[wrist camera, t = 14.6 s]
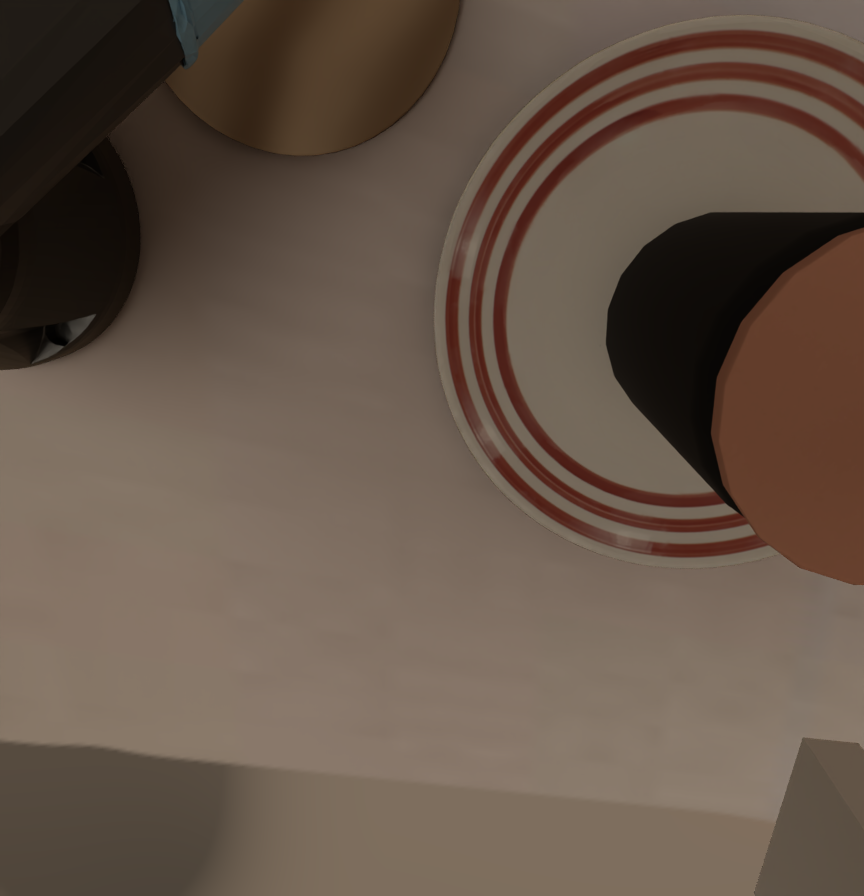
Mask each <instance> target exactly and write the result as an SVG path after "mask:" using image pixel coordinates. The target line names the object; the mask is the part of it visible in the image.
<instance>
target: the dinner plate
mask: <svg viewBox="0 0 864 896" xmlns="http://www.w3.org/2000/svg"><path fill="white" fill-rule="evenodd" d="M710 212H864V43H861V42H859V41H857V40H855V39H853V38H851V37H848V36H846V35H844V34H841V33H839V32H836V31H833V30H830V29H827V28H824V27H820V26H817V25H814V24H811V23H807V22H802V21H797V20H792V19H786V18H779V17H772V16H758V15H732V16H714V17H707V18H700V19H693V20H687V21H683V22H678V23H673V24H669V25H666V26H662V27H659V28H655V29H652V30H649V31H646V32H644V33H641V34H638V35H636V36H633V37H631V38H628V39H625V40H623V41H621V42H618V43H616V44H614V45H612V46H609V47H607V48H605V49H603V50H601V51H599V52H597V53H596V54H594V55H592V56H590V57H588V58H587V59H585V60H583V61H582V62H580V63H579V64H577V65H576V66H574V67H573V68H571V69H570V70H568V71H567V72H565V73H564V74H563V75H561V76H560V77H559V78H557V79H556V80H554V81H553V82H552V83H551V84H549V85H548V86H547V87H546V88H544V89H543V90H542V91H541V92H540V93H539V94H538V95H537V96H535V97H534V98H533V99H532V100H531V101H530V102H529V103H528V104H527V105H526V106H525V107H524V108H523V109H522V110H521V111H520V112H519V113H518V114H517V115H516V116H515V117H514V118H513V119H512V120H511V121H510V122H509V124H508V125H507V126H506V127H505V128H504V130H503V131H502V132H501V133H500V134H499V136H498V137H497V138H496V139H495V141H494V142H493V143H492V145H491V146H490V148H489V149H488V151H487V152H486V154H485V155H484V157H483V158H482V160H481V161H480V163H479V165H478V166H477V168H476V170H475V172H474V173H473V175H472V177H471V178H470V180H469V182H468V184H467V186H466V188H465V190H464V192H463V194H462V196H461V198H460V200H459V202H458V205H457V207H456V210H455V212H454V215H453V217H452V220H451V223H450V226H449V229H448V232H447V235H446V238H445V241H444V246H443V250H442V254H441V257H440V262H439V268H438V274H437V279H436V288H435V301H434V341H435V350H436V357H437V364H438V369H439V374H440V378H441V381H442V385H443V389H444V392H445V396H446V399H447V402H448V405H449V408H450V410H451V413H452V416H453V418H454V421H455V423H456V425H457V427H458V430H459V432H460V433H461V435H462V437H463V439H464V441H465V443H466V445H467V446H468V448H469V450H470V452H471V453H472V455H473V456H474V458H475V459H476V461H477V462H478V464H479V465H480V467H481V468H482V469H483V471H484V472H485V473H486V474H487V476H488V477H489V478H490V479H491V481H492V482H493V483H494V484H495V485H496V486H497V487H498V489H499V490H500V491H501V492H502V493H503V494H504V495H505V496H506V497H507V498H508V499H509V500H510V501H511V502H512V503H514V504H515V505H516V506H517V507H518V508H520V510H522V511H523V512H524V513H525V514H527V515H528V516H529V517H530V518H532V519H533V520H535V521H536V522H538V523H539V524H541V525H542V526H544V527H545V528H547V529H548V530H550V531H552V532H553V533H555V534H557V535H558V536H560V537H562V538H564V539H566V540H568V541H570V542H572V543H574V544H576V545H578V546H581V547H583V548H585V549H588V550H590V551H593V552H595V553H598V554H601V555H605V556H608V557H611V558H614V559H618V560H621V561H626V562H630V563H634V564H640V565H646V566H654V567H663V568H679V569H698V568H715V567H723V566H731V565H738V564H743V563H748V562H753V561H757V560H761V559H764V558H768V557H771V556H775V555H778V554H780V553H779V552H778V551H776V550H775V549H773V548H772V547H771V546H769V545H768V544H767V543H765V542H764V541H763V540H761V539H760V538H758V537H757V535H756V534H755V532H754V531H753V529H752V528H751V526H750V525H749V523H748V522H747V520H746V519H745V518H744V517H743V516H742V515H740V514H739V513H738V512H736V511H735V510H733V509H732V508H731V507H729V506H728V505H727V504H726V503H725V502H724V501H723V500H722V499H721V498H720V497H719V496H718V495H717V494H716V492H715V491H714V490H713V489H712V488H711V487H710V486H709V485H708V484H707V483H706V482H705V481H704V480H703V478H702V477H701V476H700V475H699V474H698V473H697V472H696V471H695V470H694V469H693V468H692V467H691V466H690V465H689V463H688V462H687V461H686V460H685V459H684V458H683V457H682V456H681V455H680V454H679V453H678V452H677V451H676V449H675V448H674V447H673V446H672V445H671V444H670V443H669V442H668V441H667V440H666V439H665V438H664V437H663V436H662V434H661V433H660V432H659V431H658V430H657V429H656V428H655V427H654V426H653V425H652V424H651V423H650V422H649V420H648V419H647V418H646V417H645V416H644V415H643V414H642V413H641V412H640V411H639V410H638V409H637V408H636V406H635V405H634V404H633V403H632V402H631V400H630V399H629V397H628V396H627V394H626V393H625V392H624V390H623V389H622V387H621V386H620V384H619V383H618V381H617V380H616V378H615V377H614V374H613V370H612V366H611V363H610V359H609V355H608V351H607V348H606V329H607V313H608V307H609V305H610V302H611V300H612V297H613V294H614V292H615V289H616V287H617V284H618V281H619V279H620V276H621V275H622V273H623V272H624V271H625V269H626V268H627V267H628V266H629V264H630V263H631V262H632V260H633V259H634V258H635V257H636V255H637V254H638V253H639V252H640V250H641V249H642V248H643V246H645V245H646V244H647V243H649V242H650V241H652V240H653V239H654V238H656V237H657V236H659V235H660V234H661V233H663V232H664V231H666V230H667V229H668V228H670V227H671V226H673V225H674V224H676V223H679V222H682V221H685V220H689V219H692V218H695V217H698V216H701V215H704V214H707V213H710Z"/></svg>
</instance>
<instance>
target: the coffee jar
mask: <svg viewBox="0 0 864 896" xmlns="http://www.w3.org/2000/svg"><path fill="white" fill-rule="evenodd" d="M606 348H607V351H608V355H609V359H610V363H611V366H612V370H613V374H614V377H615V378H616V380H617V381H618V383H619V384H620V386H621V387H622V389H623V390H624V392H625V393H626V394H627V396H628V397H629V399H630V400H631V402H632V403H633V404H634V405H635V406H636V408H637V409H638V410H639V411H640V412H641V413H642V414H643V415H644V416H645V417H646V418H647V419H648V420H649V422H650V423H651V424H652V425H653V426H654V427H655V428H656V429H657V430H658V431H659V432H660V433H661V434H662V436H663V437H664V438H665V439H666V440H667V441H668V442H669V443H670V444H671V445H672V446H673V447H674V448H675V449H676V451H677V452H678V453H679V454H680V455H681V456H682V457H683V458H684V459H685V460H686V461H687V462H688V463H689V465H690V466H691V467H692V468H693V469H694V470H695V471H696V472H697V473H698V474H699V475H700V476H701V477H702V478H703V480H704V481H705V482H706V483H707V484H708V485H709V486H710V487H711V488H712V489H713V490H714V491H715V492H716V494H717V495H718V496H719V497H720V498H721V499H722V500H723V501H724V502H725V503H726V504H727V505H728V506H729V507H731V508H732V509H733V510H735V511H736V512H738V513H739V514H740V515H742V516H743V517H744V518H745V519H746V520H747V522H748V523H749V525H750V526H751V528H752V529H753V531H754V532H755V534H756V535H757V537H758V538H760V539H761V540H763V541H764V542H765V543H767V544H768V545H769V546H771V547H772V548H773V549H775V550H776V551H778V552H779V553H780V554H782V555H783V556H784V557H786V558H787V559H788V560H790V561H791V562H793V563H794V564H795V565H797V566H798V567H799V568H802V569H805V570H808V571H811V572H815V573H818V574H821V575H824V576H827V577H830V578H834V579H837V580H840V581H843V582H846V583H850V584H853V585H864V212H710V213H707V214H704V215H701V216H698V217H695V218H692V219H689V220H685V221H682V222H679V223H676V224H674V225H673V226H671V227H670V228H668V229H667V230H666V231H664V232H663V233H661V234H660V235H659V236H657V237H656V238H654V239H653V240H652V241H650V242H649V243H647V244H646V245H645V246H643V248H642V249H641V250H640V252H639V253H638V254H637V255H636V257H635V258H634V259H633V260H632V262H631V263H630V264H629V266H628V267H627V268H626V269H625V271H624V272H623V273H622V275H621V276H620V279H619V281H618V284H617V287H616V289H615V292H614V294H613V297H612V300H611V302H610V305H609V307H608V313H607V329H606Z"/></svg>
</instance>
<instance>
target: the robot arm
mask: <svg viewBox="0 0 864 896" xmlns="http://www.w3.org/2000/svg"><path fill="white" fill-rule="evenodd" d="M243 1H244V0H0V370H10V369H20V368H27V367H31V366H36V365H39V364H42V363H45V362H48V361H51V360H54V359H57V358H60V357H63V356H65V355H68V354H70V353H73V352H74V351H76V350H78V349H80V348H82V347H84V346H85V345H87V344H88V343H90V342H91V341H92V340H94V339H95V338H96V337H97V336H99V335H100V334H101V333H102V332H103V331H104V330H105V329H106V328H107V327H108V326H109V325H110V324H111V322H112V321H113V320H114V318H115V317H116V316H117V314H118V313H119V311H120V310H121V308H122V307H123V305H124V303H125V301H126V299H127V297H128V295H129V293H130V290H131V288H132V285H133V282H134V279H135V275H136V271H137V266H138V261H139V253H140V224H139V215H138V210H137V204H136V200H135V196H134V192H133V189H132V186H131V183H130V180H129V178H128V175H127V173H126V170H125V168H124V166H123V164H122V162H121V160H120V158H119V156H118V155H117V153H116V151H115V149H114V148H113V146H112V145H111V143H110V142H109V140H108V139H107V137H106V136H107V135H108V134H109V133H110V132H112V131H113V130H114V129H115V128H116V127H117V126H118V125H119V124H120V123H121V122H122V121H123V120H124V119H125V118H126V117H127V116H128V115H129V114H130V113H131V112H132V111H133V110H134V109H136V108H137V107H138V106H139V105H140V104H141V103H142V102H143V101H144V100H145V99H146V98H147V97H148V96H149V95H150V94H151V93H152V92H153V91H154V90H155V89H156V88H157V87H158V86H159V85H161V84H162V83H163V82H164V81H165V80H166V79H167V78H168V77H169V76H170V75H171V74H172V73H173V72H174V71H175V70H176V69H177V68H178V67H179V66H180V65H181V66H182V67H183V68H184V69H185V70H186V69H188V68H190V67H191V66H192V65H193V64H194V63H195V61H196V60H197V58H198V51H199V47H200V46H201V45H202V44H203V43H204V42H205V41H206V40H207V39H208V38H209V37H210V36H211V35H212V34H213V33H214V32H215V30H216V29H217V28H218V27H219V26H220V25H221V24H222V23H223V22H224V21H225V20H226V19H227V18H228V17H229V16H230V15H231V14H232V12H233V11H234V10H235V9H236V8H237V7H238V6H239V5H240V4H241V3H242V2H243ZM754 894H755V896H864V750H863V749H862V747H861V746H860V745H859V744H858V743H850V742H841V741H831V740H821V739H812V738H803V739H802V742H801V745H800V748H799V752H798V755H797V758H796V761H795V764H794V767H793V771H792V774H791V777H790V780H789V783H788V786H787V790H786V793H785V796H784V799H783V802H782V806H781V809H780V812H779V815H778V818H777V821H776V825H775V828H774V831H773V835H772V837H771V841H770V844H769V847H768V850H767V853H766V857H765V859H764V863H763V866H762V869H761V872H760V875H759V879H758V882H757V885H756V888H755V891H754Z"/></svg>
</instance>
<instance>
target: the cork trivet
mask: <svg viewBox="0 0 864 896" xmlns="http://www.w3.org/2000/svg"><path fill="white" fill-rule="evenodd" d="M459 3H460V0H244V1H243V2H242V3H241V4H240V5H239V6H238V7H237V8H236V9H235V10H234V11H233V12H232V14H231V15H230V16H229V17H228V18H227V19H226V20H225V21H224V22H223V23H222V24H221V25H220V26H219V27H218V28H217V29H216V30H215V32H214V33H213V34H212V35H211V36H210V37H209V38H208V39H207V40H206V41H205V42H204V43H203V44H202V45H201V46H200V47H199V51H198V58H197V60H196V61H195V63H194V64H193V65H192V66H191V67H190V68H188V69H186V70H185V69H184V68H183V67H182V66H181V65H180V66H179V67H178V68H177V69H176V70H175V71H174V72H173V73H172V74H171V75H170V76H169V77H168V78H167V79H166V80H165V82H166V83H167V84H168V85H169V87H170V88H171V89H172V90H173V92H174V93H175V94H176V95H177V97H178V98H179V99H180V100H181V101H182V102H183V103H184V104H185V105H186V106H187V107H188V108H189V109H190V110H191V111H192V112H193V113H194V114H195V115H197V116H198V117H199V118H201V119H202V120H203V121H205V122H206V123H207V124H209V125H210V126H211V127H213V128H214V129H216V130H218V131H219V132H221V133H223V134H225V135H226V136H228V137H230V138H231V139H234V140H236V141H238V142H241V143H243V144H246V145H248V146H250V147H253V148H257V149H260V150H264V151H268V152H272V153H276V154H284V155H292V156H314V155H322V154H328V153H334V152H338V151H341V150H345V149H348V148H351V147H354V146H357V145H359V144H361V143H363V142H365V141H367V140H369V139H372V138H374V137H375V136H377V135H378V134H380V133H381V132H383V131H384V130H386V129H387V128H389V127H391V126H392V125H393V124H394V123H395V122H397V121H398V120H399V119H400V118H401V117H402V116H403V115H405V114H406V113H407V112H408V111H409V110H410V109H411V107H412V106H413V105H414V104H415V103H416V102H417V101H418V100H419V98H420V97H421V96H422V95H423V93H424V92H425V90H426V89H427V88H428V86H429V85H430V83H431V82H432V80H433V79H434V77H435V75H436V73H437V71H438V69H439V67H440V66H441V64H442V62H443V60H444V58H445V55H446V53H447V50H448V47H449V44H450V42H451V39H452V36H453V33H454V29H455V24H456V20H457V16H458V12H459Z"/></svg>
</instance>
